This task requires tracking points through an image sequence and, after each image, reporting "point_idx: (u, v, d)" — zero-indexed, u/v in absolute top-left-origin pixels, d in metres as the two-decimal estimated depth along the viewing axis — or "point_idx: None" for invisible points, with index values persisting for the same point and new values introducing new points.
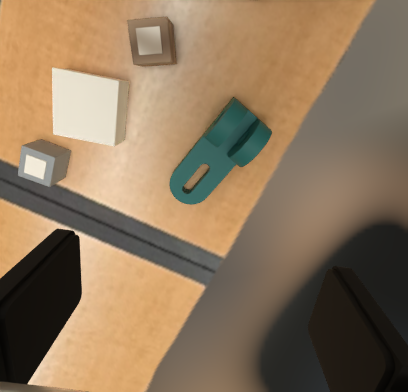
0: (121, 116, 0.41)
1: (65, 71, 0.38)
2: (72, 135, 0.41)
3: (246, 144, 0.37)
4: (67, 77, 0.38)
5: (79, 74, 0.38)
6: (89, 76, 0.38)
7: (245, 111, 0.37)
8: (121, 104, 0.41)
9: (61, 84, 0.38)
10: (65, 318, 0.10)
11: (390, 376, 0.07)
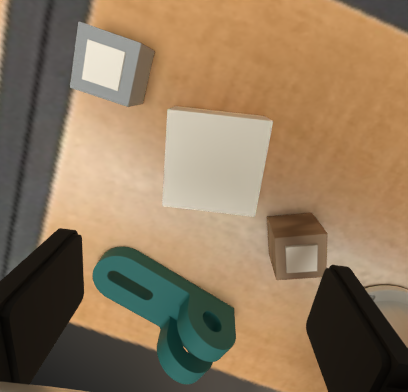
0: None
1: (267, 142, 0.24)
2: (170, 142, 0.25)
3: (186, 371, 0.31)
4: (258, 144, 0.24)
5: (263, 163, 0.25)
6: (260, 177, 0.25)
7: None
8: None
9: (248, 133, 0.24)
10: (68, 317, 0.10)
11: (386, 373, 0.07)
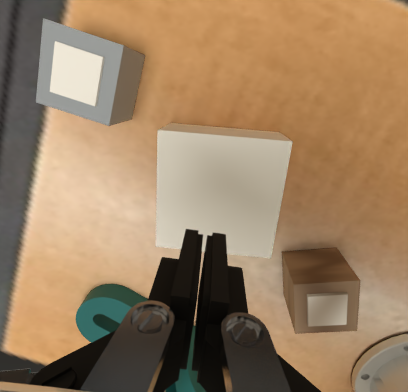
0: None
1: (285, 167, 0.19)
2: (162, 170, 0.20)
3: None
4: (274, 170, 0.19)
5: (280, 193, 0.20)
6: (277, 211, 0.20)
7: None
8: None
9: (261, 157, 0.19)
10: None
11: (207, 312, 0.08)
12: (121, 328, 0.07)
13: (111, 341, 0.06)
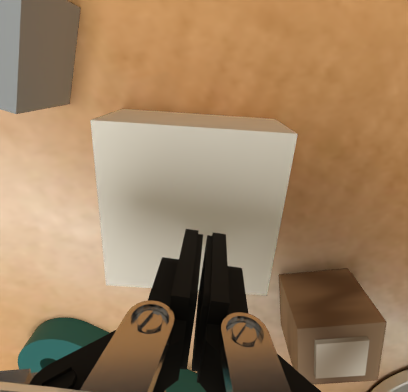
0: None
1: (286, 172, 0.13)
2: (104, 181, 0.13)
3: None
4: (271, 177, 0.13)
5: (279, 209, 0.14)
6: (275, 234, 0.14)
7: None
8: None
9: (250, 158, 0.13)
10: None
11: (207, 311, 0.08)
12: (121, 328, 0.07)
13: (111, 341, 0.06)
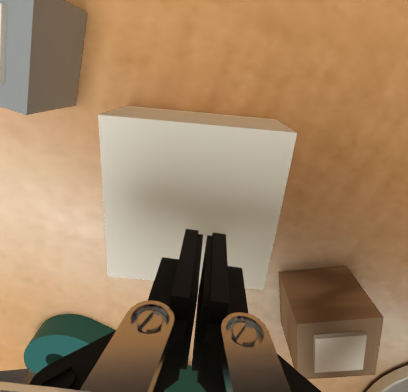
0: None
1: (285, 170, 0.13)
2: (109, 174, 0.14)
3: None
4: (270, 174, 0.13)
5: (277, 205, 0.14)
6: (273, 230, 0.15)
7: None
8: None
9: (251, 155, 0.13)
10: None
11: (206, 311, 0.08)
12: (121, 328, 0.07)
13: (111, 341, 0.06)
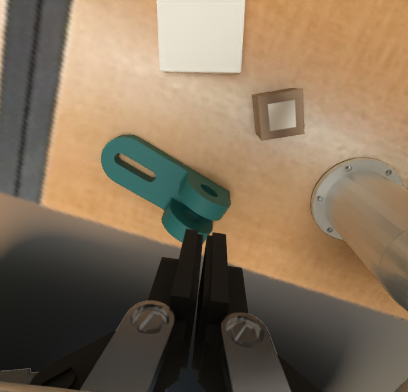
0: (196, 72, 0.33)
1: None
2: (160, 5, 0.29)
3: None
4: None
5: (242, 16, 0.29)
6: (241, 31, 0.29)
7: (219, 218, 0.36)
8: (212, 72, 0.33)
9: None
10: None
11: (207, 311, 0.08)
12: (121, 328, 0.07)
13: (111, 341, 0.06)
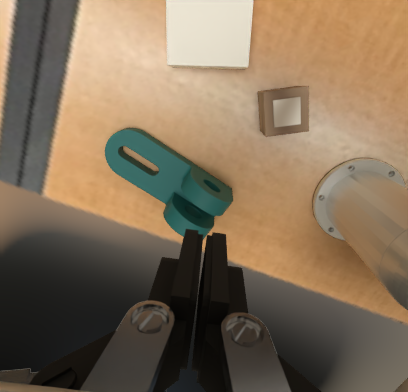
0: None
1: None
2: None
3: (190, 223, 0.35)
4: None
5: (250, 10, 0.29)
6: (249, 25, 0.29)
7: (221, 214, 0.36)
8: (219, 67, 0.33)
9: None
10: None
11: (207, 312, 0.08)
12: (121, 328, 0.07)
13: (111, 341, 0.06)
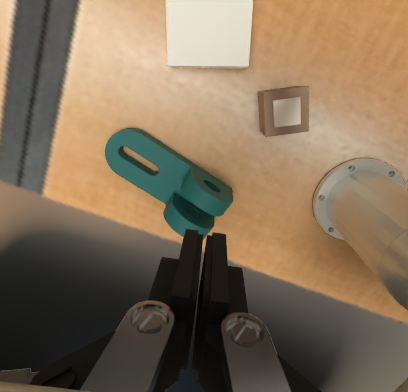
0: None
1: None
2: None
3: (190, 224, 0.35)
4: None
5: (250, 9, 0.29)
6: (249, 25, 0.29)
7: (221, 214, 0.36)
8: (219, 67, 0.33)
9: None
10: None
11: (207, 312, 0.08)
12: (121, 328, 0.07)
13: (111, 341, 0.06)
